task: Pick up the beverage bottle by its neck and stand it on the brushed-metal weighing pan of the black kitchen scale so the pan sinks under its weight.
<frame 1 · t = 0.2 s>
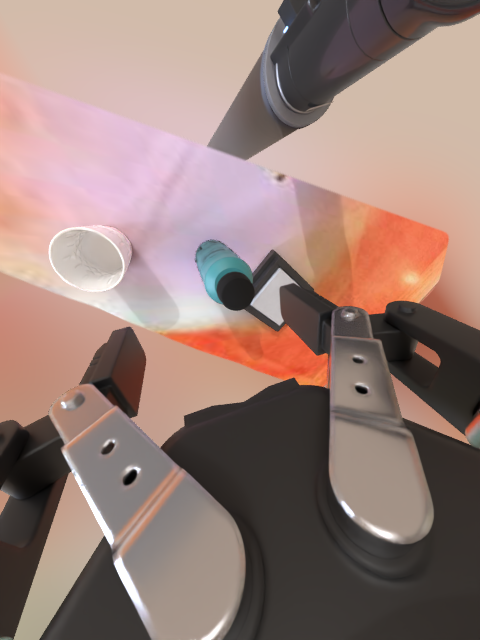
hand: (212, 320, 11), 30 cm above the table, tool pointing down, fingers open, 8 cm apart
scale: (273, 293, 47), on the table
white cup: (110, 247, 34), on the table
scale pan: (278, 298, 44), point 3 cm above the table, slide at -0.3 cm
beverage bottle: (210, 255, 39), on the table
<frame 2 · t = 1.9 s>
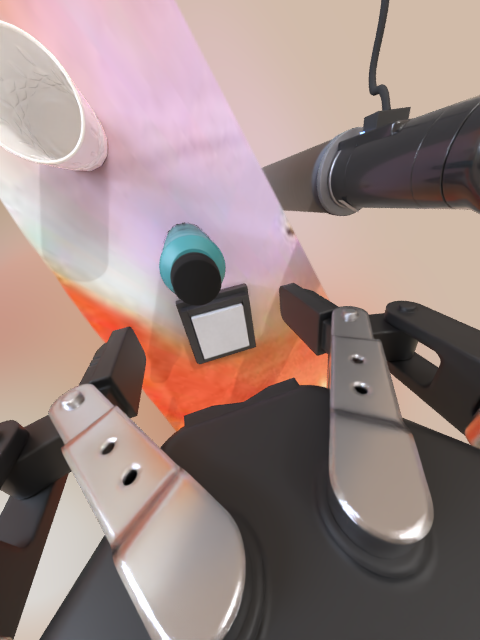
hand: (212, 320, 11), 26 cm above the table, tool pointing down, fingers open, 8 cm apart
scale: (219, 323, 42), on the table
white cup: (75, 136, 24), on the table
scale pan: (222, 331, 39), point 3 cm above the table, slide at -0.3 cm
beverage bottle: (186, 243, 33), on the table
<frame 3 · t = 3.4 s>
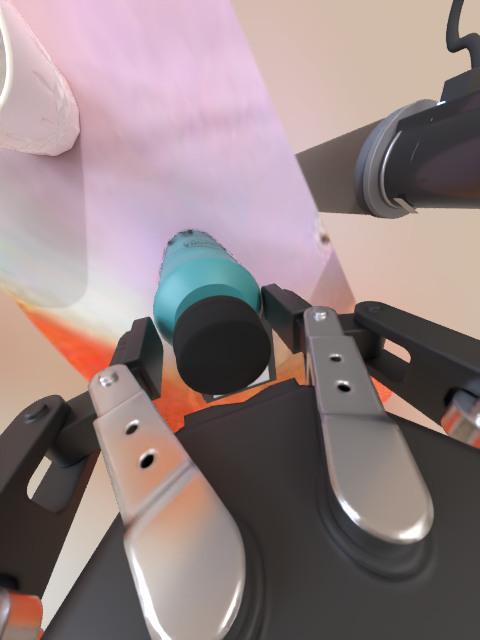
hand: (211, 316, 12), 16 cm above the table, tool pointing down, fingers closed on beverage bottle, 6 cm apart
scale: (231, 352, 33), on the table
white cup: (30, 103, 16), on the table
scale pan: (236, 364, 31), point 3 cm above the table, slide at -0.3 cm
beverage bottle: (192, 255, 25), on the table, touching gripper
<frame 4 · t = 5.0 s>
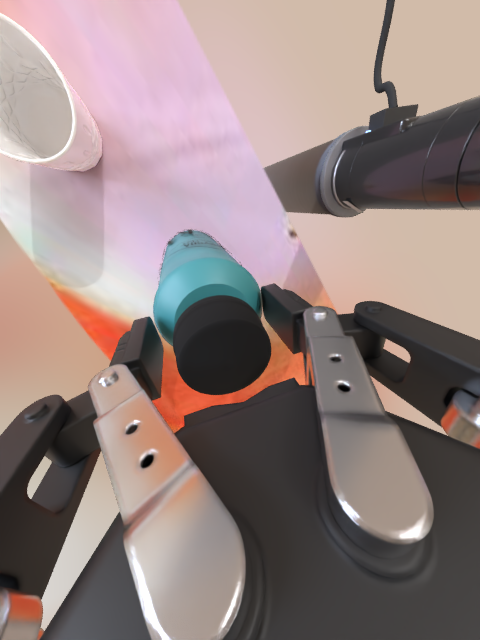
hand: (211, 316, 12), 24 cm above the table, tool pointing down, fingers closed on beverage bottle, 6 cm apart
white cup: (68, 135, 23), on the table
beverage bottle: (192, 255, 25), point 8 cm above the table, touching gripper
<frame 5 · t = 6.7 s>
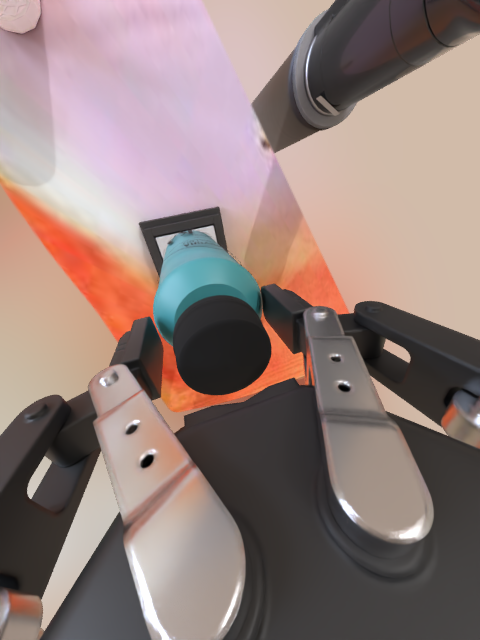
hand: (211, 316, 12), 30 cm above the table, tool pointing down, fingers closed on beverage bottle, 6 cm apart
scale: (191, 256, 38), on the table
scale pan: (193, 260, 36), point 3 cm above the table, slide at -0.3 cm
beverage bottle: (192, 255, 25), point 14 cm above the table, touching gripper
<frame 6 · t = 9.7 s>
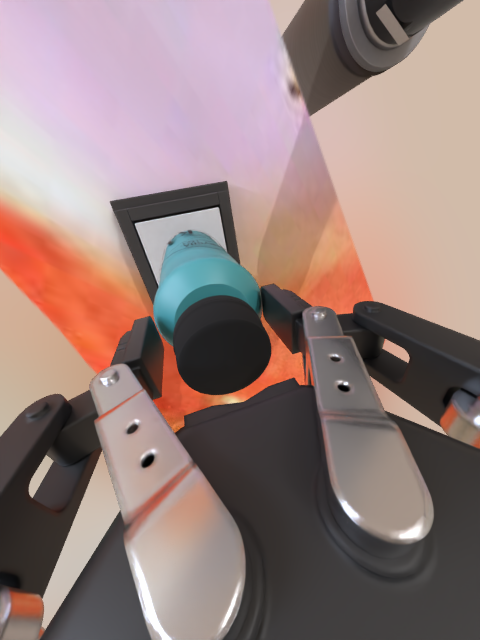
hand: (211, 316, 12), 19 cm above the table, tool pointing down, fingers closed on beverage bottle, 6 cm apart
scale: (188, 252, 28), on the table
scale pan: (189, 256, 26), point 3 cm above the table, slide at -0.6 cm, touching beverage bottle
beverage bottle: (192, 255, 25), point 3 cm above the table, touching gripper, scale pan
when the fingers open (19 cm above the table, at t = 9.9 s): beverage bottle stays where it is, resting on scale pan.
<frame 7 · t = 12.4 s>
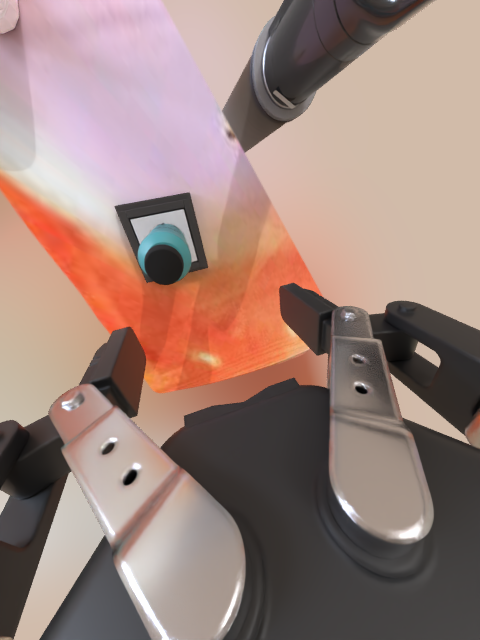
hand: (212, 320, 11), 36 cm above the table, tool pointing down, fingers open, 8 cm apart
scale: (166, 239, 41), on the table
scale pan: (166, 241, 39), point 2 cm above the table, slide at -0.9 cm, touching beverage bottle
beverage bottle: (168, 240, 39), point 3 cm above the table, touching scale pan
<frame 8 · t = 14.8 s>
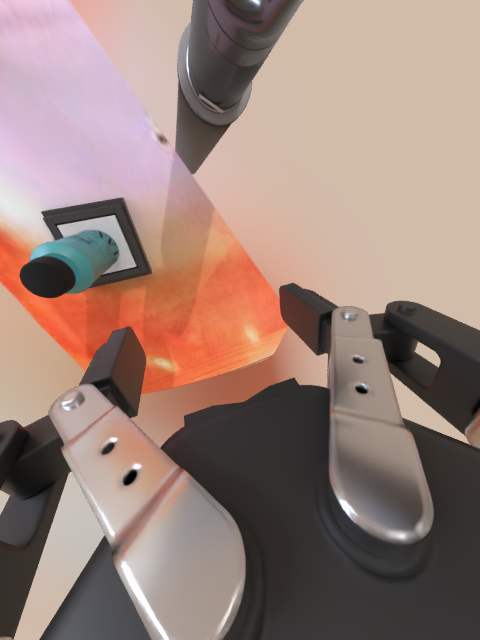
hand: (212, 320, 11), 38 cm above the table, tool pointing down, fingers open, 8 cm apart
scale: (104, 245, 40), on the table
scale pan: (101, 247, 38), point 2 cm above the table, slide at -0.9 cm, touching beverage bottle
beverage bottle: (101, 246, 38), point 3 cm above the table, touching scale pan
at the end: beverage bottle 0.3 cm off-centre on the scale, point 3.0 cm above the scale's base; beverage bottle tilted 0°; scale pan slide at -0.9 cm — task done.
